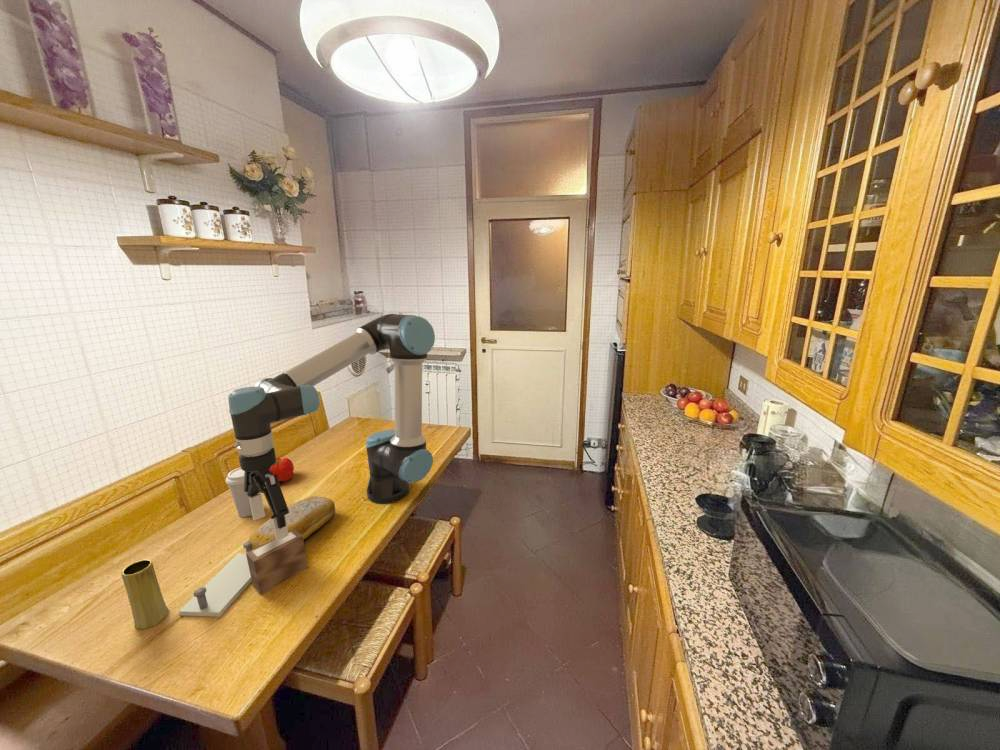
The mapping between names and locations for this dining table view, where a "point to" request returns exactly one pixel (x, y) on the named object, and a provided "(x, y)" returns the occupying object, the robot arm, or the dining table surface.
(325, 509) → the bread
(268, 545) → the brown block
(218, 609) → the white board with pegs
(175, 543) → the dining table surface
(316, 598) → the dining table surface
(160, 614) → the vase
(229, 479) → the coffee cup
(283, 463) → the tomato
